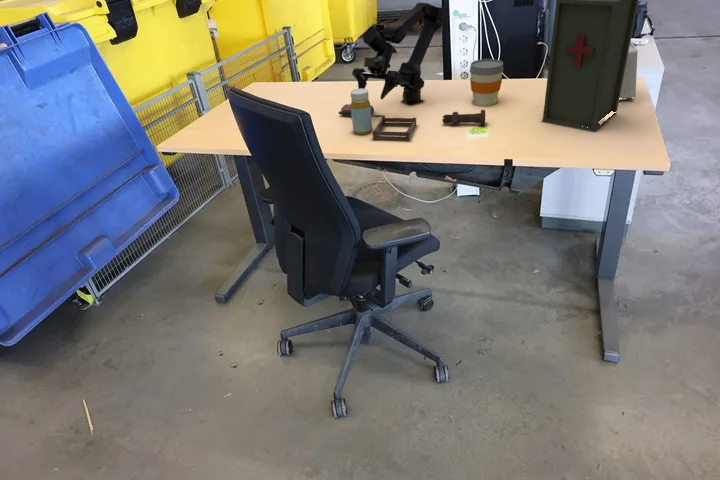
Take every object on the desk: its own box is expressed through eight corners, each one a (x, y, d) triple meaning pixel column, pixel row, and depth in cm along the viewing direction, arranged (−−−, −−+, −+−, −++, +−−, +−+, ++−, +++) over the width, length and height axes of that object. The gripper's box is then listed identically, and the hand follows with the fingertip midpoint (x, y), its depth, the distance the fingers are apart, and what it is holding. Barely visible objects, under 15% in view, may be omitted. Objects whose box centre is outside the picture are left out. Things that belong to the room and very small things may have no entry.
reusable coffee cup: (499, 108, 198) (502, 68, 190) (466, 107, 202) (467, 68, 193) (502, 96, 208) (505, 58, 199) (471, 96, 211) (472, 58, 203)
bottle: (362, 136, 186) (358, 95, 178) (349, 132, 191) (345, 92, 182) (376, 130, 190) (373, 90, 181) (363, 126, 194) (359, 86, 186)
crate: (382, 125, 194) (381, 117, 192) (416, 125, 190) (416, 117, 188) (373, 140, 183) (372, 131, 181) (409, 141, 179) (408, 132, 177)
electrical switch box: (583, 95, 207) (583, 45, 196) (624, 88, 203) (625, 36, 193) (592, 108, 195) (592, 55, 184) (635, 101, 191) (637, 46, 181)
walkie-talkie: (336, 118, 204) (384, 121, 197) (335, 107, 201) (383, 109, 194) (344, 110, 210) (391, 112, 204) (343, 99, 208) (390, 101, 201)
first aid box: (616, 114, 183) (640, -10, 161) (594, 131, 172) (617, 1, 150) (565, 105, 194) (581, -12, 172) (542, 121, 183) (556, -1, 161)
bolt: (443, 128, 191) (485, 127, 187) (441, 126, 186) (484, 125, 182) (443, 112, 190) (485, 110, 186) (442, 109, 185) (485, 108, 181)
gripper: (351, 45, 188) (338, 85, 187) (397, 48, 179) (384, 89, 178) (364, 61, 198) (352, 99, 196) (408, 64, 189) (395, 104, 188)
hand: (370, 97), depth 189 cm, fingers open, 9 cm apart
